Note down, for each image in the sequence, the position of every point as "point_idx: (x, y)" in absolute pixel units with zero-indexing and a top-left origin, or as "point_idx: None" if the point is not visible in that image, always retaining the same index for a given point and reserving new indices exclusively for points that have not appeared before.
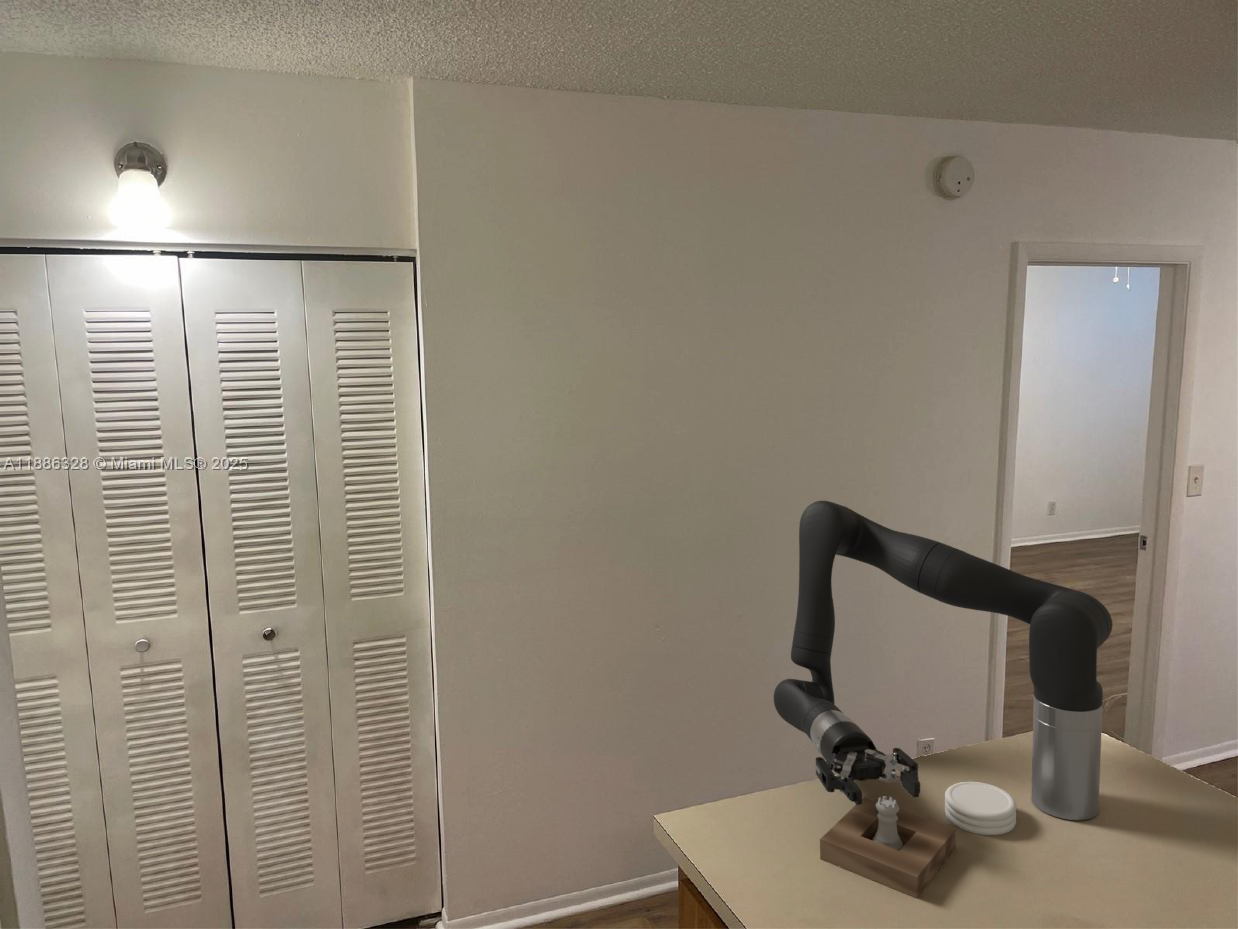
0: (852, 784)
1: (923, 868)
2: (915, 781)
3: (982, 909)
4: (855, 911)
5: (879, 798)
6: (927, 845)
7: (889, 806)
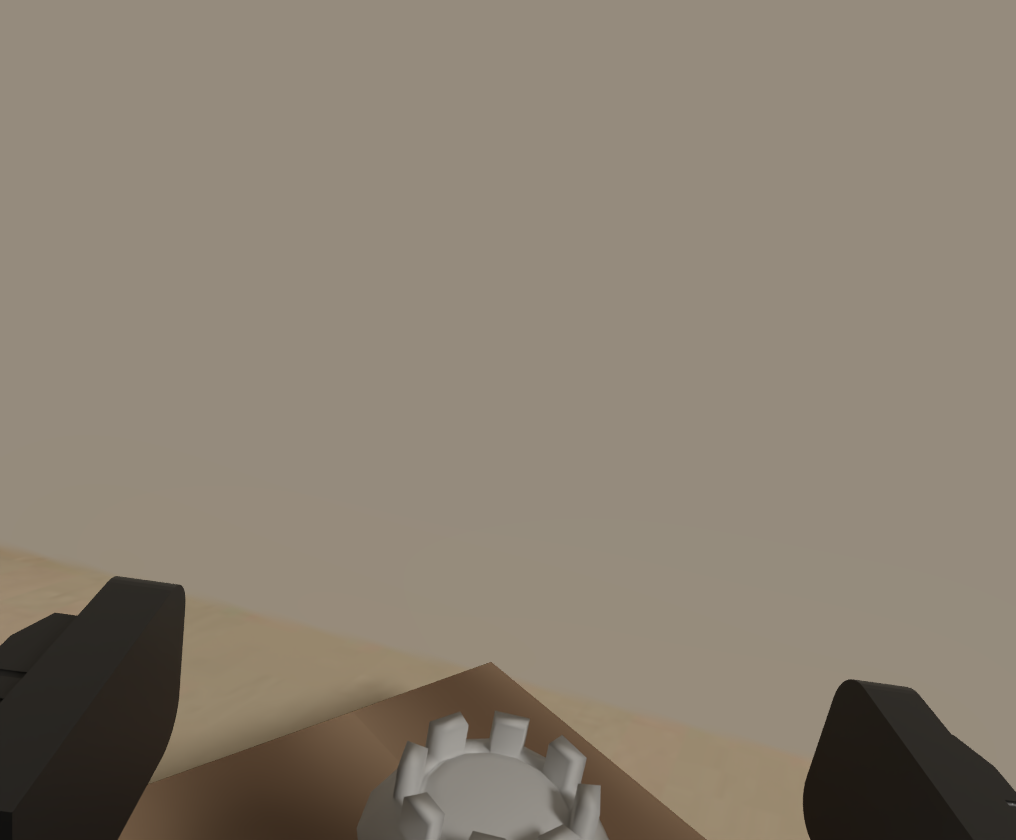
0: (980, 779)
1: (421, 687)
2: (118, 588)
3: (244, 647)
4: (781, 783)
5: (571, 832)
6: (231, 822)
7: (518, 721)
